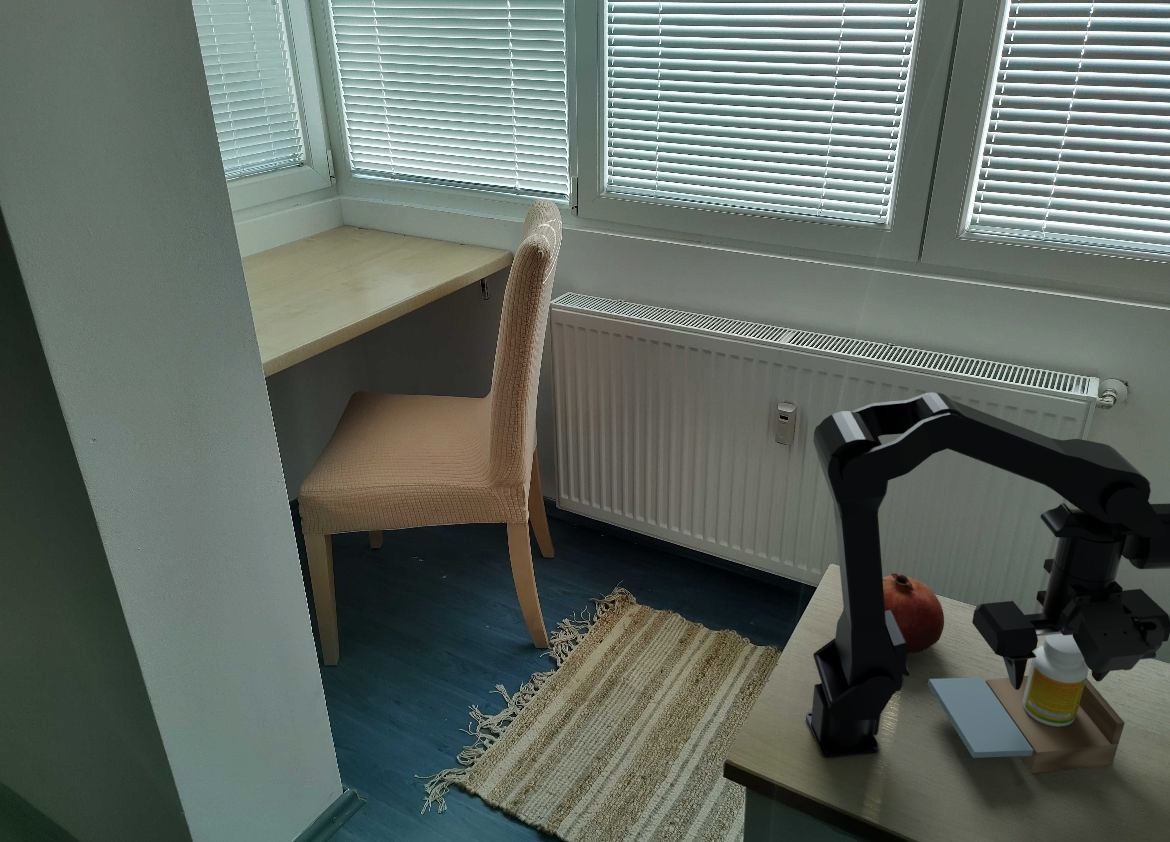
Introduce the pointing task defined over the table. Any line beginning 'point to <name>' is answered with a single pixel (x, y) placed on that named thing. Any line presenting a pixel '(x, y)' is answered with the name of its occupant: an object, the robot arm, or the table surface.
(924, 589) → the fruit
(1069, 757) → the brown platform with wall
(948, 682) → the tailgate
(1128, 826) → the table surface
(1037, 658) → the supplement bottle
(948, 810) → the table surface
